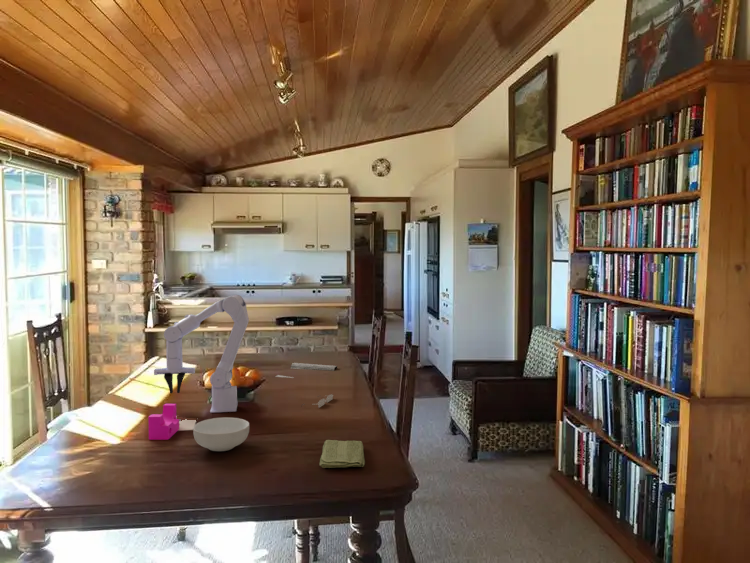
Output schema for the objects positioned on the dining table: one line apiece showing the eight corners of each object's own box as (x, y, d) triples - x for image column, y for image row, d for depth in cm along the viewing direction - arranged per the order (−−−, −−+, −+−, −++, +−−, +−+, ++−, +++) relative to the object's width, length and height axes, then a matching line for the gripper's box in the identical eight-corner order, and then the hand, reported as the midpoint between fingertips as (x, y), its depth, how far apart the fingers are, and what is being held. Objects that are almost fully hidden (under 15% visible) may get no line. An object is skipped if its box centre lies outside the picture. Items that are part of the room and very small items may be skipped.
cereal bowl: (219, 461, 163) (219, 437, 163) (181, 450, 172) (181, 427, 172) (260, 444, 178) (260, 422, 177) (223, 434, 186) (223, 413, 186)
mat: (274, 382, 262) (273, 372, 262) (294, 371, 285) (294, 362, 285) (320, 385, 256) (320, 375, 256) (337, 373, 279) (337, 364, 278)
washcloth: (318, 470, 158) (318, 458, 158) (323, 448, 176) (323, 437, 175) (365, 469, 158) (365, 458, 158) (365, 447, 176) (365, 437, 176)
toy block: (168, 439, 181) (167, 416, 181) (148, 439, 181) (148, 416, 181) (183, 424, 196) (183, 403, 196) (165, 424, 196) (165, 403, 196)
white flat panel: (199, 413, 211) (199, 412, 211) (192, 430, 191) (192, 429, 191) (160, 415, 208) (160, 414, 208) (149, 432, 189) (149, 431, 189)
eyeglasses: (317, 411, 215) (317, 401, 215) (299, 409, 218) (299, 399, 217) (333, 402, 228) (333, 393, 228) (315, 400, 231) (315, 391, 230)
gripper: (195, 354, 218) (196, 389, 219) (156, 355, 216) (156, 390, 216) (193, 358, 212) (193, 393, 212) (152, 359, 209) (153, 395, 209)
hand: (175, 392), depth 214 cm, fingers closed
